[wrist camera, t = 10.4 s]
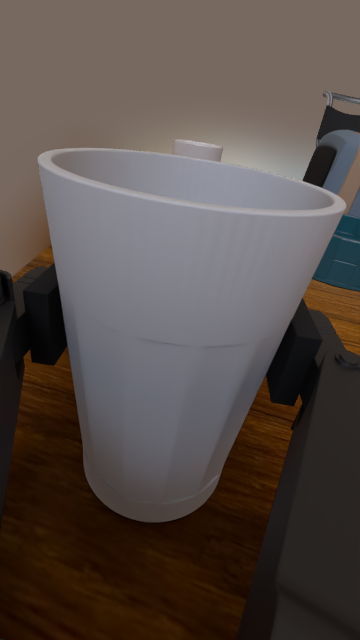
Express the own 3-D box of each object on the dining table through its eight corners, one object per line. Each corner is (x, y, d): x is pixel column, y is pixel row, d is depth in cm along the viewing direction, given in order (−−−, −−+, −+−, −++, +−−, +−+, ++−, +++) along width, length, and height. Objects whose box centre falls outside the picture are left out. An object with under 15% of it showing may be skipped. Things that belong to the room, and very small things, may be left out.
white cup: (159, 201, 58) (166, 137, 53) (198, 203, 62) (208, 142, 57) (177, 214, 53) (186, 143, 47) (219, 215, 56) (232, 149, 51)
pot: (288, 279, 35) (304, 234, 33) (270, 238, 48) (280, 203, 45) (424, 301, 35) (450, 257, 33) (370, 254, 48) (386, 220, 45)
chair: (331, 198, 88) (366, 100, 77) (381, 217, 74) (433, 100, 63) (289, 194, 84) (320, 90, 73) (334, 214, 70) (381, 89, 59)
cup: (56, 567, 11) (5, 191, 5) (67, 394, 18) (52, 139, 11) (269, 525, 13) (427, 226, 7) (209, 385, 20) (262, 165, 13)
